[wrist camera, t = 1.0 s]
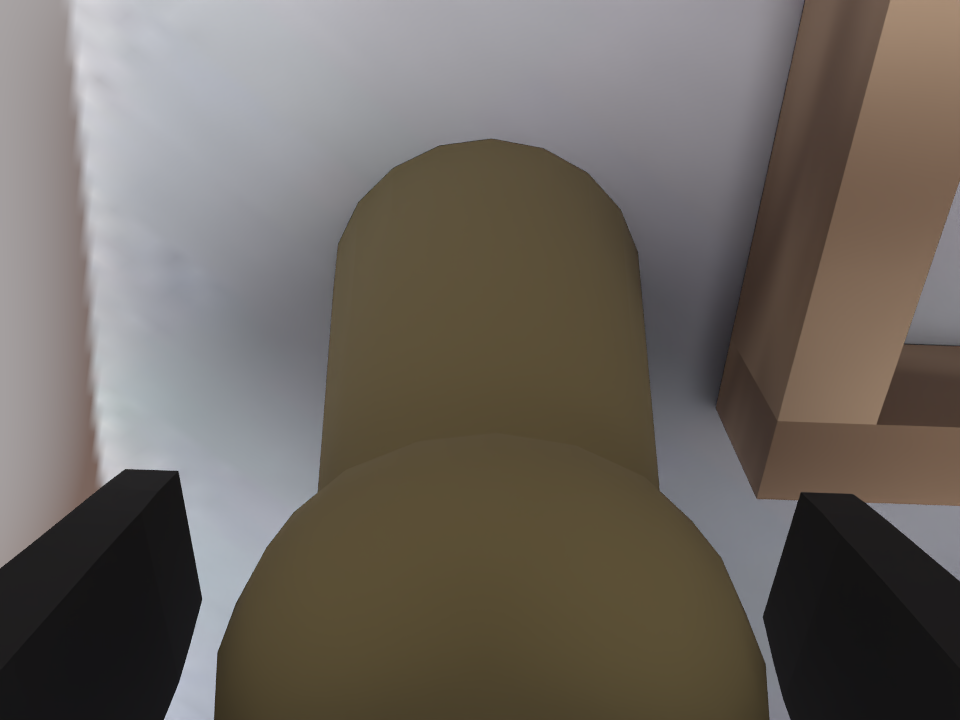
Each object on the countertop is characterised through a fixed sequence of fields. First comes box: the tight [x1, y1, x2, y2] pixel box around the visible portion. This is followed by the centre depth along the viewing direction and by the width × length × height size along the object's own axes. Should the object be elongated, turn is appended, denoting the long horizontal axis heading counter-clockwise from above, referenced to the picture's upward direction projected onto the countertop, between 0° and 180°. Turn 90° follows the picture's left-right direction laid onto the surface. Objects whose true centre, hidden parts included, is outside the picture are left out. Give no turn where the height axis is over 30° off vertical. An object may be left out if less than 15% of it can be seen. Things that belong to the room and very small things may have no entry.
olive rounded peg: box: [214, 139, 769, 720], centre depth 11 cm, size 6×6×11 cm
